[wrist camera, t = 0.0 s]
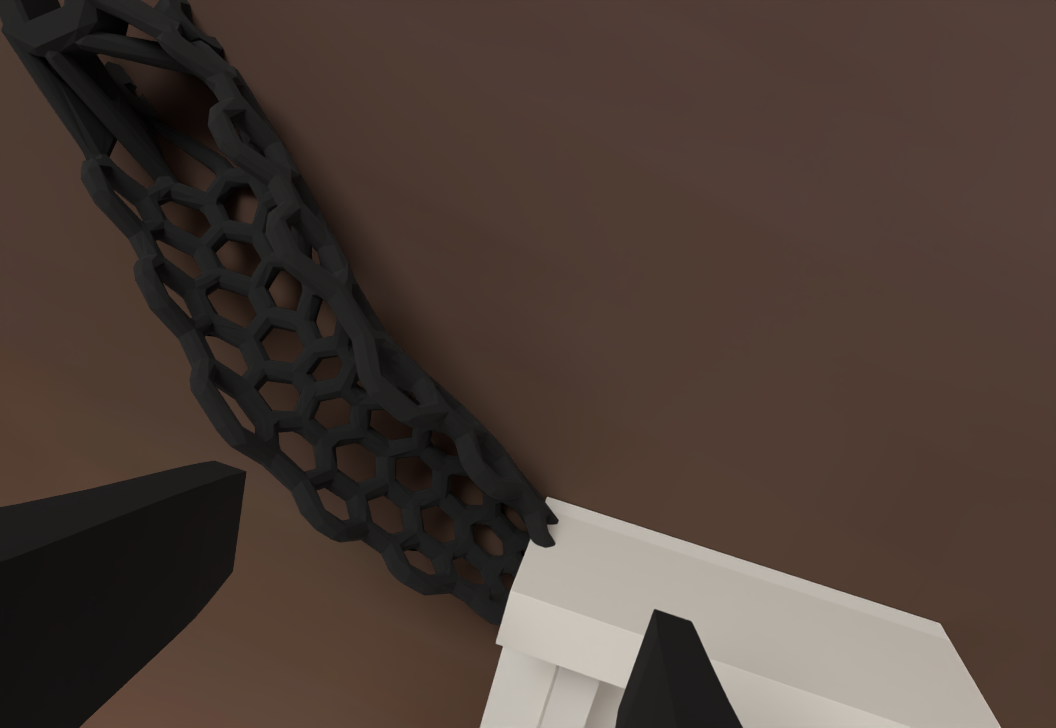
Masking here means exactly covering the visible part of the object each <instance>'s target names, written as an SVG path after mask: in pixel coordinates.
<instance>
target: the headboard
mask: <svg viewBox="0 0 1056 728" xmlns="http://www.w3.org/2000/svg"><path fill="white" fill-rule="evenodd" d="M545 502H546V504H547V505H548V506H549V508H550V509H551V510H552V512H553V513H554V514H555V516H556V517H557V518H558V520H559V522H558V524H555V525H547V527H548V531H549V533H550V535H551V536H552V538H553V539H554V541H555V543H556V544H555V546H553V547H548V548H544V547H541V546H538V545H536V544H534V543H533V541H532V540H531V539H530V542H529V544H528V547H527V549H526V552H525V555H524V557H523V560H522V562H521V565H520V567H519V570H518V573H517V575H516V578H515V580H514V583H513V585H512V588H511V590H510V594H509V598H508V601H507V605H506V608H505V612H504V615H503V619H502V623H501V626H500V630H499V633H498V637H497V640H496V644H499V645H502V646H503V649H502V652H501V656H500V659H499V663H498V666H497V670H496V673H495V677H494V680H493V684H492V687H491V691H490V694H489V698H488V701H487V705H486V708H485V712H484V715H483V719H482V722H481V726H480V728H615V725H616V719H617V713H618V708H619V705H620V702H621V700H622V697H623V694H624V691H625V688H626V686H627V683H628V680H629V677H630V674H631V672H632V669H633V666H634V663H635V661H636V658H637V655H638V652H639V649H640V647H641V644H642V641H643V638H644V635H645V633H646V630H647V627H648V624H649V621H650V619H651V616H652V613H653V610H654V609H657V610H660V611H663V612H666V613H669V614H672V615H675V616H678V617H681V618H684V619H687V620H690V621H692V623H693V625H694V627H695V629H696V631H697V633H698V635H699V637H700V640H701V642H702V644H703V646H704V649H705V651H706V653H707V655H708V657H709V660H710V662H711V664H712V666H713V668H714V670H715V673H716V675H717V677H718V679H719V681H720V683H721V685H722V687H723V689H724V691H725V693H726V696H727V698H728V700H729V702H730V703H731V705H732V707H733V709H734V711H735V713H736V715H737V717H738V719H739V721H740V723H741V725H742V727H743V728H1001V727H1000V725H999V723H998V722H997V720H996V718H995V717H994V715H993V713H992V711H991V710H990V708H989V706H988V705H987V703H986V701H985V700H984V698H983V696H982V694H981V693H980V691H979V689H978V688H977V686H976V684H975V682H974V681H973V679H972V677H971V676H970V674H969V672H968V670H967V669H966V667H965V665H964V664H963V662H962V660H961V659H960V657H959V655H958V653H957V652H956V650H955V648H954V647H953V645H952V643H951V641H950V640H949V638H948V636H947V635H946V633H945V631H944V629H943V628H942V626H941V624H940V623H937V622H934V621H931V620H928V619H925V618H922V617H919V616H915V615H912V614H909V613H906V612H903V611H900V610H897V609H894V608H891V607H888V606H884V605H881V604H878V603H875V602H872V601H869V600H866V599H863V598H860V597H857V596H853V595H850V594H847V593H844V592H841V591H838V590H835V589H832V588H829V587H826V586H823V585H819V584H816V583H813V582H810V581H807V580H804V579H801V578H798V577H795V576H792V575H788V574H785V573H782V572H779V571H776V570H773V569H770V568H767V567H764V566H761V565H757V564H754V563H751V562H748V561H745V560H742V559H739V558H736V557H733V556H730V555H726V554H723V553H720V552H717V551H714V550H711V549H708V548H705V547H702V546H699V545H696V544H692V543H689V542H686V541H683V540H680V539H677V538H674V537H671V536H668V535H665V534H661V533H658V532H655V531H652V530H649V529H646V528H643V527H640V526H637V525H634V524H630V523H627V522H624V521H621V520H618V519H615V518H612V517H609V516H606V515H603V514H599V513H596V512H593V511H590V510H587V509H584V508H581V507H578V506H575V505H572V504H569V503H565V502H562V501H559V500H556V499H553V498H550V497H547V498H546V501H545Z"/></svg>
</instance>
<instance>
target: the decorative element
mask: <svg viewBox="0 0 1056 728" xmlns="http://www.w3.org/2000/svg"><path fill="white" fill-rule="evenodd" d="M0 18H1V21H2V23H3V27H2V30H1V31H2V32H3V34H4V35H5V37H6V38H7V40H8V41H9V43H10V45H11V46H12V48H13V49H14V51H15V52H16V54H17V55H18V57H19V58H20V60H21V61H22V63H23V64H24V66H25V68H26V69H27V71H28V72H29V74H30V75H31V77H32V78H33V80H34V81H35V83H36V84H37V86H38V88H39V89H40V91H41V92H42V93H43V95H44V96H45V98H46V99H47V101H48V102H49V104H50V105H51V106H52V108H53V109H54V111H55V112H56V114H57V115H58V116H59V118H60V119H61V121H62V122H63V124H64V125H65V127H66V128H67V129H68V131H69V132H70V134H71V135H72V137H73V138H74V140H75V141H76V142H77V144H78V145H79V147H80V148H81V150H82V151H83V153H84V155H85V158H86V160H87V161H83V163H82V167H81V180H82V182H83V183H84V185H85V187H86V189H87V190H88V192H89V194H90V196H91V197H92V199H93V201H94V203H95V204H96V205H97V206H98V207H99V208H100V209H101V210H102V211H103V212H104V214H105V215H106V216H107V217H108V218H109V219H110V220H111V221H112V222H113V223H114V224H115V225H116V226H117V227H118V228H119V229H120V231H121V232H122V233H123V234H124V235H125V236H126V237H127V238H128V239H129V241H130V243H131V245H132V247H133V248H134V250H135V252H136V254H137V256H138V258H139V259H140V260H138V261H137V262H136V263H135V265H134V275H135V280H136V282H137V284H138V286H139V288H140V290H141V292H142V294H143V296H144V298H145V300H146V302H147V304H148V306H149V308H150V309H151V310H152V311H153V312H154V314H155V315H156V316H157V317H158V318H159V319H160V320H161V321H162V322H163V323H164V324H165V325H166V326H167V327H168V329H169V330H170V331H171V332H172V333H173V334H174V335H175V336H176V337H177V338H178V339H179V341H180V343H181V346H182V348H183V350H184V352H185V354H186V356H187V358H188V360H189V362H190V365H191V367H192V371H191V376H190V386H191V391H192V393H193V394H194V396H195V397H196V399H197V401H198V402H199V404H200V405H201V407H202V408H203V410H204V412H205V413H206V415H207V416H208V418H209V420H210V421H211V423H212V424H213V426H214V427H215V429H216V430H217V432H218V433H219V434H220V435H221V436H222V438H223V439H224V440H225V441H226V442H227V443H228V444H229V445H230V446H231V447H232V448H234V449H236V450H237V451H239V452H241V453H242V454H244V455H246V456H248V457H249V458H251V459H253V460H254V461H256V462H258V463H259V464H261V465H262V466H263V467H265V468H266V469H267V470H268V471H269V472H270V473H271V474H272V475H273V476H274V477H275V478H277V479H278V480H279V481H280V482H281V483H282V484H283V485H284V486H285V487H286V488H287V489H289V490H290V491H291V493H292V495H293V497H294V499H295V502H296V504H297V506H298V508H299V510H300V513H301V514H302V515H303V516H304V517H305V519H306V520H307V521H308V522H309V523H310V524H311V525H312V526H313V527H314V528H315V529H316V530H317V531H319V532H320V533H322V534H324V535H325V536H327V537H329V538H330V539H332V540H335V541H338V542H348V541H356V540H362V541H363V542H365V543H366V544H368V545H369V546H371V547H372V548H373V549H375V550H376V551H378V552H379V553H381V554H382V557H383V559H384V561H385V563H386V565H387V567H388V569H389V571H390V572H391V573H392V574H393V576H394V577H395V578H396V579H397V580H399V581H400V582H401V583H403V584H404V585H406V586H408V587H410V588H412V589H414V590H415V591H417V592H419V593H421V594H423V595H436V594H448V593H450V594H452V595H454V596H455V597H457V598H459V599H461V600H462V601H464V602H465V603H466V604H468V605H469V606H470V607H471V608H472V609H473V610H474V611H475V612H476V613H477V614H478V615H479V616H481V617H482V618H484V619H485V620H487V621H488V622H489V623H491V624H495V625H500V624H501V623H502V619H503V615H504V612H505V608H504V607H506V605H507V601H508V598H509V594H510V591H509V590H508V589H507V588H506V587H505V585H504V582H503V580H502V577H501V575H502V574H510V575H511V576H512V577H513V578H516V575H517V573H518V570H519V567H520V565H521V562H522V560H523V559H522V554H521V551H522V550H523V551H525V552H526V549H527V547H528V544H529V542H530V539H531V540H532V541H533V543H534V544H536V545H538V546H541V547H544V548H548V547H553V546H555V544H556V543H555V541H554V539H553V538H552V536H551V535H550V533H549V531H548V527H547V525H555V524H558V522H559V520H558V518H557V517H556V516H555V514H554V513H553V512H552V510H551V509H550V508H549V506H548V505H547V504H546V502H545V501H544V500H543V498H542V497H541V496H540V494H539V493H538V492H537V491H536V489H535V488H534V487H533V486H532V485H531V483H530V482H529V481H528V480H527V479H526V477H525V476H524V475H523V474H522V473H521V471H520V470H519V469H518V468H517V466H516V465H515V463H514V462H513V460H512V459H511V457H510V455H509V454H508V453H507V451H506V450H505V449H504V448H503V446H502V445H501V444H500V443H499V442H498V441H497V440H496V439H495V438H494V437H493V435H492V434H491V433H490V432H489V431H488V430H487V429H486V428H485V427H484V426H483V425H482V424H481V423H480V422H479V421H478V420H477V419H476V418H475V417H474V416H473V415H472V414H471V413H470V412H469V411H468V410H467V409H466V408H465V407H464V406H463V405H462V404H461V403H460V402H458V401H457V400H456V399H455V398H454V397H453V396H452V395H451V394H450V393H448V392H447V391H446V390H445V389H444V388H443V387H442V386H441V385H440V384H438V383H437V382H436V381H435V380H434V379H433V378H431V377H430V376H429V375H428V374H427V373H426V372H425V371H424V370H423V369H422V368H421V367H420V366H419V365H417V364H416V363H415V362H414V361H413V360H412V359H411V358H410V357H409V356H408V355H407V354H406V353H405V352H404V351H403V350H402V349H401V348H400V347H399V346H398V345H397V344H396V343H395V342H394V340H393V339H392V338H391V337H390V336H389V335H388V334H387V333H386V331H385V330H384V328H383V326H382V324H381V323H380V321H379V319H378V317H377V316H376V314H375V312H374V311H373V309H372V307H371V305H370V304H369V302H368V300H367V299H366V297H365V295H364V293H363V292H362V290H361V288H360V287H359V285H358V283H357V282H356V280H355V277H354V275H353V272H352V270H351V268H350V265H349V263H348V260H347V258H346V257H345V255H344V253H343V251H342V249H341V247H340V245H339V243H338V241H337V239H336V238H335V236H334V235H333V233H332V231H331V229H330V227H329V226H328V224H327V222H326V220H325V219H324V217H323V215H322V213H321V211H320V209H319V208H318V206H317V204H316V202H315V200H314V198H313V196H312V195H311V193H310V191H309V189H308V187H307V185H306V183H305V181H304V180H303V178H302V176H301V174H300V172H299V170H298V168H297V167H296V165H295V163H294V161H293V159H292V157H291V156H290V154H289V152H288V150H287V148H286V147H285V145H284V144H283V143H282V142H281V141H280V139H279V138H278V136H277V134H276V133H275V131H274V129H273V128H272V126H271V124H270V123H269V121H268V119H267V118H266V116H265V114H264V113H263V111H262V109H261V107H260V106H259V104H258V102H257V101H256V99H255V97H254V96H253V94H252V92H251V91H250V89H249V87H248V86H247V84H246V83H245V81H244V79H243V78H242V76H241V74H240V73H239V71H238V70H237V69H236V68H234V67H232V66H229V65H228V64H227V63H226V62H225V61H224V60H223V59H222V58H221V57H220V56H219V53H220V52H221V51H222V50H223V47H222V46H221V45H220V44H219V42H218V41H217V40H216V38H214V37H210V36H207V35H205V34H204V33H203V32H202V31H200V30H199V29H198V28H197V27H195V26H194V25H193V23H192V15H191V8H190V4H189V3H188V2H187V0H160V1H159V2H158V3H157V5H156V6H155V7H154V8H152V7H151V6H149V5H148V4H146V3H144V2H143V1H141V0H65V1H64V6H63V7H61V6H60V4H59V2H58V0H0ZM128 24H131V25H133V26H134V27H136V28H138V29H140V30H142V31H143V32H145V33H147V34H149V35H150V36H152V37H154V38H156V40H157V41H158V42H155V41H150V40H144V39H139V38H134V37H128V36H126V33H127V29H128ZM97 54H103V55H108V56H112V57H116V58H121V59H125V60H129V61H134V62H138V63H142V64H147V65H151V66H155V67H160V68H164V69H168V70H173V71H177V72H181V73H186V74H190V75H194V76H197V77H198V78H200V79H201V80H202V81H204V82H205V83H206V84H207V85H208V87H209V88H210V89H211V90H212V91H213V92H214V94H215V95H216V97H217V99H218V101H219V102H218V103H217V104H215V105H214V106H213V107H211V108H210V111H209V120H208V127H209V129H210V131H211V133H212V135H213V137H214V140H215V142H216V144H217V146H218V148H219V150H221V151H222V152H223V153H224V154H225V155H226V156H227V157H228V158H229V159H230V160H231V161H232V162H233V163H234V164H235V165H237V166H238V167H240V168H233V166H232V165H231V164H230V162H229V161H228V160H227V159H226V158H224V157H223V156H221V155H219V154H218V153H216V152H214V151H213V150H211V149H209V148H208V147H206V146H204V145H203V144H201V143H200V142H198V141H196V140H195V139H193V138H191V137H190V136H188V135H186V134H184V133H181V132H179V131H177V130H175V129H173V128H171V127H169V126H167V125H164V124H162V123H160V122H158V121H156V120H157V119H158V118H159V117H160V116H159V115H158V114H157V112H156V111H155V110H154V109H153V107H152V106H151V105H150V103H149V102H148V101H147V100H146V98H145V97H144V96H143V94H142V96H141V97H140V98H139V97H137V96H134V95H133V94H132V93H131V92H132V91H133V90H135V89H136V88H137V87H136V85H135V84H134V83H133V82H132V80H131V79H130V78H129V76H128V75H127V74H126V73H125V71H124V70H123V69H122V68H121V66H120V65H117V64H113V63H110V62H108V63H107V64H106V65H105V66H104V65H103V63H102V62H101V60H100V59H99V57H98V56H97ZM232 123H235V124H236V126H237V128H238V130H239V132H240V134H241V137H242V140H243V142H242V140H241V138H240V136H239V135H238V133H237V131H236V129H235V127H234V125H233V124H232ZM152 125H153V126H154V127H155V128H156V130H157V131H158V132H159V133H160V134H161V135H163V136H164V137H165V138H167V139H168V140H169V141H171V142H172V143H174V144H175V145H177V146H178V147H179V148H181V149H182V150H184V151H185V152H186V153H188V154H189V155H191V156H192V157H194V158H195V159H196V160H198V161H199V162H201V163H202V164H203V165H205V166H206V167H208V168H209V169H211V170H212V171H213V172H215V174H216V178H215V180H214V181H213V182H212V184H211V185H210V187H209V188H208V189H207V191H206V192H204V191H201V190H198V189H196V188H193V187H190V186H187V185H184V184H181V183H179V182H178V181H177V179H176V178H175V176H174V175H173V173H172V171H171V170H170V168H169V166H168V165H167V163H166V162H165V159H164V156H163V153H162V150H161V148H160V145H159V143H158V140H157V138H156V135H155V133H154V130H153V128H152ZM117 139H118V141H119V142H120V143H121V144H122V145H123V146H124V147H125V148H126V149H127V151H128V152H129V153H130V154H131V155H132V156H133V157H134V158H135V159H136V161H137V162H138V163H139V164H140V165H141V166H142V167H143V168H144V170H145V171H146V172H147V173H148V174H149V175H150V176H151V177H152V178H153V180H154V181H155V182H156V184H155V185H153V186H151V187H149V188H147V189H146V188H145V187H143V186H142V185H141V184H139V183H138V182H137V181H135V180H134V179H132V178H131V177H130V176H128V175H127V174H126V173H125V172H124V171H122V170H121V169H120V168H119V167H118V166H117V165H116V164H115V163H114V162H113V161H112V160H111V159H110V158H109V157H110V155H111V153H112V150H113V148H114V146H115V144H116V141H117ZM237 187H251V189H252V190H253V192H254V194H255V196H256V198H257V199H258V201H259V204H258V208H257V211H256V214H255V217H254V220H253V224H248V223H243V222H237V221H232V220H231V219H230V217H229V215H228V214H227V212H226V210H225V208H224V206H223V205H224V203H225V202H226V200H227V199H228V198H229V196H230V195H231V194H232V192H233V191H234V190H235V188H237ZM113 189H114V190H115V191H116V192H118V193H119V194H120V195H121V196H123V197H124V198H125V199H126V200H128V201H129V202H130V203H131V204H133V205H134V206H135V207H136V208H137V210H138V212H139V214H140V216H141V218H142V220H143V221H141V220H140V219H139V218H138V217H137V216H136V215H135V213H134V212H133V211H132V210H131V209H130V208H129V207H128V206H127V205H126V204H125V203H124V202H123V201H122V200H121V198H120V197H119V196H118V195H117V194H116V193H115V192H114V190H113ZM169 201H172V202H175V203H178V204H181V205H184V206H187V207H190V208H193V209H196V210H199V211H201V212H202V213H204V214H205V216H206V218H207V219H208V221H209V223H210V225H211V228H210V229H209V230H208V231H207V232H206V233H205V234H204V235H203V236H202V237H201V238H199V237H196V236H194V235H192V234H190V233H188V232H186V231H184V230H182V229H180V228H178V227H177V226H175V225H173V224H172V223H171V222H170V221H169V220H168V219H167V218H166V216H165V214H164V212H163V211H162V209H161V207H160V206H161V205H163V204H165V203H167V202H169ZM290 227H291V231H290V229H289V228H290ZM157 240H160V241H162V242H164V243H166V244H168V245H170V246H172V247H174V248H176V249H178V250H180V251H183V252H185V253H187V254H189V255H191V256H193V257H194V259H195V261H196V262H197V264H198V266H199V268H200V270H201V272H202V274H201V275H199V276H198V277H197V278H195V279H192V278H191V277H190V276H188V275H187V274H186V273H184V272H183V271H182V270H180V269H179V268H178V267H176V266H175V265H174V264H173V263H171V262H170V261H169V260H167V259H166V258H165V257H164V256H163V254H162V252H161V250H160V249H159V247H158V245H157V243H156V241H157ZM228 240H230V241H235V242H241V243H246V244H252V245H253V246H254V247H255V249H256V251H257V253H258V255H259V257H260V259H261V260H262V261H261V262H260V264H259V265H258V267H257V269H256V270H255V272H254V273H253V275H252V277H249V276H246V275H243V274H240V273H237V272H233V271H230V270H227V269H226V268H225V267H224V266H223V265H222V264H221V262H220V260H219V258H218V257H217V255H216V252H217V251H218V250H219V249H220V248H221V247H222V246H223V245H224V244H225V243H226V242H227V241H228ZM312 247H313V248H314V249H315V250H316V251H317V252H318V255H319V259H320V265H321V266H320V265H318V264H317V263H315V262H314V261H313V259H312ZM280 271H287V272H288V273H289V274H291V275H292V276H293V277H295V278H296V279H297V280H299V281H300V282H301V284H302V294H301V297H300V301H299V304H298V307H297V311H293V310H289V309H284V308H280V307H277V306H276V304H275V302H274V300H273V298H272V296H271V294H270V292H269V290H268V289H269V288H270V286H271V285H272V283H273V281H274V280H275V278H276V277H277V275H278V274H279V272H280ZM163 283H164V284H165V285H166V286H168V287H169V288H170V289H172V290H173V291H174V292H176V293H177V294H178V295H180V296H181V297H182V298H183V299H184V301H185V303H186V305H187V307H188V309H189V311H190V313H191V316H192V318H189V317H188V315H187V314H186V313H185V312H184V311H183V310H182V309H181V308H180V307H179V306H178V305H177V304H176V303H175V302H174V300H173V299H172V298H171V297H170V296H169V295H168V293H167V291H166V289H165V287H164V285H163ZM218 288H219V289H222V290H226V291H229V292H233V293H236V294H239V295H243V296H246V297H249V299H250V301H251V304H252V306H253V308H254V310H255V312H256V314H257V315H256V316H255V318H254V319H253V320H252V321H251V323H250V324H249V325H248V327H247V328H246V329H245V328H243V327H241V326H239V325H237V324H235V323H233V322H231V321H229V320H227V319H225V318H223V317H221V316H220V315H218V313H217V312H216V310H215V308H214V307H213V305H212V304H211V302H210V300H209V299H208V297H207V296H208V295H209V294H211V293H212V292H214V291H215V290H216V289H218ZM323 299H324V300H325V301H326V302H327V303H328V305H329V306H330V308H331V309H332V311H333V312H334V314H335V315H336V317H337V322H336V327H335V333H334V336H330V337H325V338H322V336H321V334H320V331H319V329H318V326H317V324H316V320H317V316H318V313H319V310H320V307H321V304H322V301H323ZM273 328H278V329H283V330H288V331H293V332H297V334H298V336H299V338H300V340H301V342H302V344H303V346H304V349H303V351H302V352H301V354H300V355H299V356H298V358H297V359H296V361H295V362H294V363H288V362H281V361H274V360H270V358H269V356H268V354H267V352H266V351H265V349H264V347H263V345H262V343H261V342H262V341H263V340H264V339H265V338H266V336H267V335H268V334H269V333H270V332H271V330H272V329H273ZM205 336H213V337H218V338H219V339H221V340H223V341H225V342H227V343H229V344H231V345H233V346H235V347H237V348H239V349H240V351H241V353H242V355H243V358H244V360H245V362H246V364H247V366H248V368H249V369H248V370H247V371H246V373H245V374H244V375H243V376H242V377H241V376H240V375H238V374H237V373H235V372H234V371H232V370H231V369H229V368H228V367H226V366H225V365H223V364H222V363H220V362H219V361H217V360H216V359H215V357H214V355H213V353H212V351H211V349H210V347H209V345H208V343H207V341H206V339H205ZM337 356H338V357H339V358H340V360H341V361H342V363H343V365H342V367H341V370H340V372H339V374H338V376H337V378H332V379H327V380H321V381H316V379H315V378H314V376H313V375H312V373H313V372H314V371H315V369H316V368H317V366H318V365H319V364H320V362H321V361H322V359H325V358H331V357H337ZM358 380H360V381H361V383H362V385H363V386H364V388H365V389H366V390H364V389H363V388H362V387H360V386H359V385H358V384H357V382H358ZM266 381H271V382H279V383H287V384H292V385H293V386H294V387H295V388H296V390H297V391H298V392H299V393H300V394H301V395H300V397H299V400H298V402H297V405H296V407H295V410H294V411H277V410H272V409H271V408H270V407H269V405H268V404H267V403H266V401H265V400H264V398H263V397H262V396H261V394H260V393H259V392H258V391H259V390H260V388H261V387H262V386H263V385H264V384H265V383H266ZM216 387H217V388H218V389H220V390H221V391H223V392H224V393H226V394H227V395H229V396H230V397H232V398H233V399H235V400H236V402H237V403H238V405H239V406H240V407H241V409H242V410H243V411H244V413H245V414H246V415H247V417H248V418H249V420H250V421H251V422H252V424H253V425H254V426H255V434H254V433H253V432H251V431H249V430H247V429H246V428H244V427H242V425H241V424H240V422H239V421H238V419H237V418H236V416H235V415H234V413H233V412H232V410H231V409H230V407H229V406H228V404H227V403H226V401H225V400H224V398H223V397H222V395H221V394H220V392H219V391H218V389H217V388H216ZM409 392H411V393H413V394H414V395H415V397H416V398H417V400H418V401H419V402H418V401H417V400H416V399H414V398H413V397H412V396H411V395H410V394H409ZM341 397H342V398H343V399H345V400H346V401H347V402H348V403H349V404H351V410H350V422H349V423H348V424H344V425H341V426H337V427H334V428H329V429H326V428H325V427H324V426H323V425H321V424H320V423H319V422H318V421H317V420H316V419H314V417H315V414H316V412H317V410H318V407H319V405H320V402H321V401H326V400H331V399H336V398H341ZM371 410H386V411H387V412H388V413H390V414H391V415H392V416H393V417H394V418H395V419H397V420H398V421H399V422H401V423H403V424H406V425H408V426H410V427H412V428H413V432H412V437H409V438H403V439H396V440H390V439H387V438H385V437H384V436H383V435H381V434H380V433H379V432H377V431H376V430H375V429H373V428H372V427H371V426H370V420H371ZM290 431H293V432H295V433H298V434H300V435H301V436H302V437H303V438H304V439H306V440H307V441H308V442H309V443H310V444H312V445H313V448H314V455H315V461H316V468H315V469H313V470H309V471H305V472H304V471H303V470H302V469H301V468H300V467H298V466H297V465H296V464H295V463H294V462H293V461H292V460H291V459H290V458H289V457H288V456H287V455H286V454H285V453H284V452H282V451H281V449H280V445H279V434H278V433H279V432H290ZM432 431H436V432H441V433H445V434H447V435H448V436H449V437H450V438H452V440H453V442H454V444H455V446H456V448H457V451H458V455H459V457H457V456H452V455H447V454H444V453H443V452H442V451H441V450H440V449H438V448H437V447H436V446H435V445H434V444H432V443H431V436H432ZM352 443H358V444H360V445H362V446H363V447H364V448H366V449H367V450H369V451H370V452H371V453H373V454H374V455H375V468H376V477H375V478H371V479H368V480H365V481H361V482H358V483H357V482H355V481H354V480H352V479H351V478H350V477H348V476H347V475H345V474H344V473H343V472H341V471H340V470H338V469H337V457H336V447H340V446H344V445H348V444H352ZM414 456H418V457H419V458H420V459H421V460H422V461H423V462H424V463H425V464H427V465H428V466H429V467H430V468H431V469H432V470H433V472H432V486H431V487H430V488H427V489H423V490H419V491H415V492H412V491H410V490H409V489H408V488H406V487H405V486H404V485H403V484H401V483H400V482H399V481H397V480H396V459H399V458H407V457H414ZM492 469H493V470H494V471H495V472H494V471H493V470H492ZM451 475H453V476H469V477H470V479H471V480H472V481H473V482H474V483H475V484H476V485H477V486H478V487H479V488H480V490H481V491H482V492H483V493H484V501H483V505H482V506H478V505H465V504H464V503H463V502H462V501H461V500H460V499H459V498H457V497H456V496H455V495H454V494H453V493H452V492H451V491H450V483H451ZM323 488H326V489H328V490H329V491H331V492H332V493H334V494H335V495H337V496H338V497H340V498H341V499H343V500H345V501H346V505H347V509H348V514H349V518H350V519H349V520H343V521H341V520H340V519H338V518H337V517H336V516H334V515H333V514H331V513H330V512H328V511H327V510H325V509H324V506H323V504H322V502H321V500H320V498H319V495H318V493H317V491H316V490H320V489H323ZM383 495H384V496H385V497H386V498H388V499H389V500H390V501H391V502H393V503H394V504H395V505H396V506H398V507H399V508H400V509H401V511H402V518H403V525H404V531H401V532H398V533H395V534H390V533H388V532H386V531H385V530H384V529H382V528H381V527H380V526H378V525H377V524H375V523H374V522H373V521H372V517H371V513H370V509H369V505H368V501H369V500H372V499H375V498H377V497H380V496H383ZM502 503H504V504H505V505H507V506H509V507H511V508H513V509H515V510H516V511H517V513H518V514H519V516H520V517H521V518H522V520H523V521H524V523H525V524H526V526H527V529H528V533H526V532H524V531H522V530H519V529H517V528H516V527H515V526H514V525H513V524H512V523H511V522H510V521H509V520H508V519H507V518H506V517H505V515H504V514H503V513H502V512H501V511H502ZM435 506H438V507H439V508H440V509H442V510H443V511H444V512H445V513H446V514H447V515H448V516H449V517H450V518H452V519H453V520H454V530H455V540H452V541H448V542H444V543H441V542H440V541H439V540H437V539H436V538H434V537H433V536H431V535H430V534H428V533H427V532H426V531H424V526H423V519H422V513H421V510H423V509H427V508H431V507H435ZM477 524H485V525H487V526H490V527H491V528H492V530H493V531H494V532H495V533H496V534H497V536H498V537H499V538H500V539H501V540H502V542H503V553H504V554H503V555H502V556H492V555H490V554H489V553H488V552H487V551H486V550H484V549H483V548H482V547H481V546H480V545H478V544H477V543H476V542H475V541H474V530H473V525H477ZM406 550H411V551H419V552H420V553H422V554H423V555H424V556H426V557H427V558H429V559H430V560H431V561H432V564H433V566H434V569H435V572H436V574H433V575H428V574H426V573H425V572H423V571H421V570H419V569H417V568H416V567H414V566H412V565H410V563H409V561H408V560H407V558H406V556H405V554H404V551H406ZM461 557H463V558H464V559H465V560H467V561H468V562H469V563H470V564H472V565H473V566H474V567H475V568H477V569H478V570H479V571H480V573H481V575H482V578H483V581H484V583H485V584H473V583H471V582H470V581H468V580H466V579H464V578H463V577H461V576H459V575H458V574H457V571H456V568H455V565H454V562H453V560H455V559H458V558H461Z"/></svg>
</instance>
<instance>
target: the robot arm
mask: <svg viewBox="0 0 1056 728" xmlns="http://www.w3.org/2000/svg"><path fill="white" fill-rule="evenodd" d="M245 478H246V471H244V470H241V469H238V468H235V467H232V466H229V465H226V464H223V463H220V462H217V461H210V462H203V463H198V464H193V465H188V466H183V467H179V468H175V469H170V470H166V471H162V472H158V473H154V474H150V475H146V476H142V477H137V478H133V479H129V480H125V481H121V482H117V483H113V484H109V485H104V486H100V487H96V488H92V489H88V490H83V491H78V492H73V493H69V494H64V495H59V496H54V497H50V498H45V499H40V500H35V501H30V502H26V503H21V504H16V505H10V506H5V507H0V728H79V727H80V726H81V725H82V724H83V723H84V722H85V721H86V720H87V719H88V718H89V717H91V716H92V715H93V714H94V713H95V712H96V711H97V710H98V709H99V708H100V707H101V706H102V705H103V704H104V703H105V702H107V701H108V700H109V699H110V698H111V697H112V696H113V695H114V694H115V693H116V692H117V691H118V690H119V689H120V688H122V687H123V686H124V685H125V684H126V683H127V682H128V681H129V680H130V679H131V678H132V677H133V676H134V675H135V674H137V673H138V672H139V671H140V670H141V669H142V668H143V667H144V666H145V665H146V664H147V663H148V662H149V661H150V660H152V659H153V658H154V657H155V656H156V655H157V654H158V653H159V652H160V651H161V650H162V649H163V648H164V647H165V646H166V645H167V644H168V643H169V642H171V641H172V640H173V639H174V638H175V637H176V636H177V635H178V634H179V633H180V632H181V631H182V630H183V629H184V628H185V627H186V626H187V625H188V624H189V623H190V622H191V621H192V620H193V619H194V618H195V617H196V616H197V615H198V614H199V613H200V611H201V610H202V609H203V608H204V607H205V605H206V604H207V603H208V602H209V601H210V600H211V598H212V597H213V596H214V595H215V593H216V592H217V591H218V590H219V588H220V587H221V586H222V584H223V583H224V582H225V581H226V579H227V578H228V577H229V576H230V574H231V573H232V572H233V566H234V559H235V552H236V544H237V537H238V530H239V522H240V515H241V507H242V500H243V493H244V485H245ZM615 728H743V727H742V725H741V723H740V721H739V719H738V717H737V715H736V713H735V711H734V709H733V707H732V705H731V703H730V702H729V700H728V698H727V696H726V693H725V691H724V689H723V687H722V685H721V683H720V681H719V679H718V677H717V675H716V673H715V670H714V668H713V666H712V664H711V662H710V660H709V657H708V655H707V653H706V651H705V649H704V646H703V644H702V642H701V640H700V637H699V635H698V633H697V631H696V629H695V627H694V625H693V623H692V621H690V620H687V619H684V618H681V617H678V616H675V615H672V614H669V613H666V612H663V611H660V610H657V609H654V610H653V613H652V616H651V619H650V621H649V624H648V627H647V630H646V633H645V635H644V638H643V641H642V644H641V647H640V649H639V652H638V655H637V658H636V661H635V663H634V666H633V669H632V672H631V674H630V677H629V680H628V683H627V686H626V688H625V691H624V694H623V697H622V700H621V702H620V705H619V708H618V713H617V719H616V725H615Z"/></svg>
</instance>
